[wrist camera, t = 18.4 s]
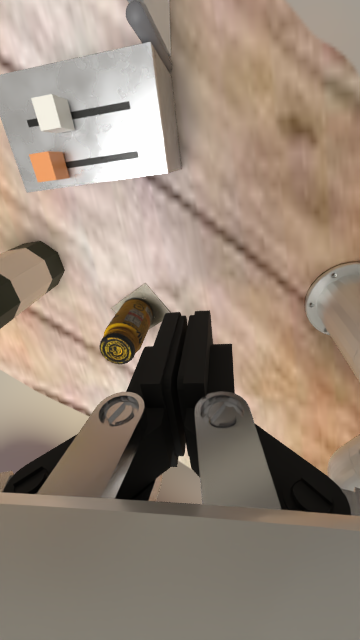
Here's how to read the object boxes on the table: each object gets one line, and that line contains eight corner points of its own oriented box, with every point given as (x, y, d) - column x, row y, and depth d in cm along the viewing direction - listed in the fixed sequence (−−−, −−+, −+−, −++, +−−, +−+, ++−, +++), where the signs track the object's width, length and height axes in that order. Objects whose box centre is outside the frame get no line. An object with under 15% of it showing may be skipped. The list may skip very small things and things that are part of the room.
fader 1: (67, 99, 27) (52, 93, 24) (74, 130, 28) (61, 127, 25) (47, 103, 27) (31, 98, 25) (56, 133, 28) (40, 131, 26)
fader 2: (62, 151, 29) (47, 151, 27) (69, 178, 30) (56, 179, 28) (44, 154, 29) (28, 154, 27) (52, 180, 30) (37, 182, 28)
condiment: (111, 307, 52) (83, 345, 41) (145, 282, 49) (124, 316, 38) (137, 336, 54) (118, 378, 44) (172, 313, 51) (159, 353, 40)
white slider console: (171, 76, 35) (150, 41, 24) (181, 169, 39) (167, 173, 29) (51, 100, 37) (-14, 77, 27) (74, 184, 42) (26, 192, 32)
